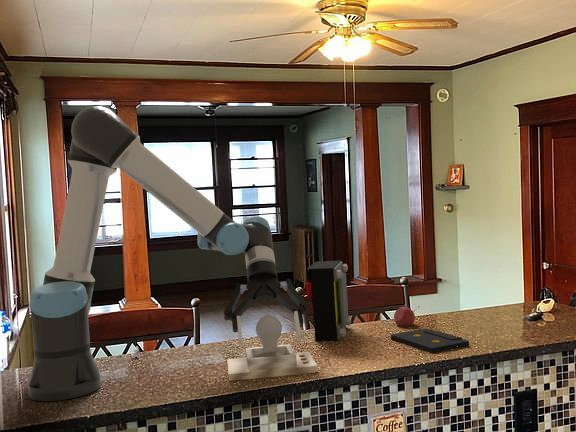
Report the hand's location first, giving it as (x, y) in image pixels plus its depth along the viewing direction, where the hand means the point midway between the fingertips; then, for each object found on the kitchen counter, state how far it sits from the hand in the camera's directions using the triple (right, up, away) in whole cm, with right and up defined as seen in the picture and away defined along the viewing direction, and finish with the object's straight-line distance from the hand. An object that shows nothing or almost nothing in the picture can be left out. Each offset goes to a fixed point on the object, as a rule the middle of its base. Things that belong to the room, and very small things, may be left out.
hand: (270, 340), depth 139 cm
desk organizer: (0, -7, +3) cm, 8 cm away
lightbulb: (0, -6, +3) cm, 6 cm away
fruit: (+40, -4, +41) cm, 57 cm away
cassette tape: (+41, -5, +18) cm, 45 cm away
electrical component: (+16, -5, +35) cm, 39 cm away
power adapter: (-37, -10, +21) cm, 44 cm away
